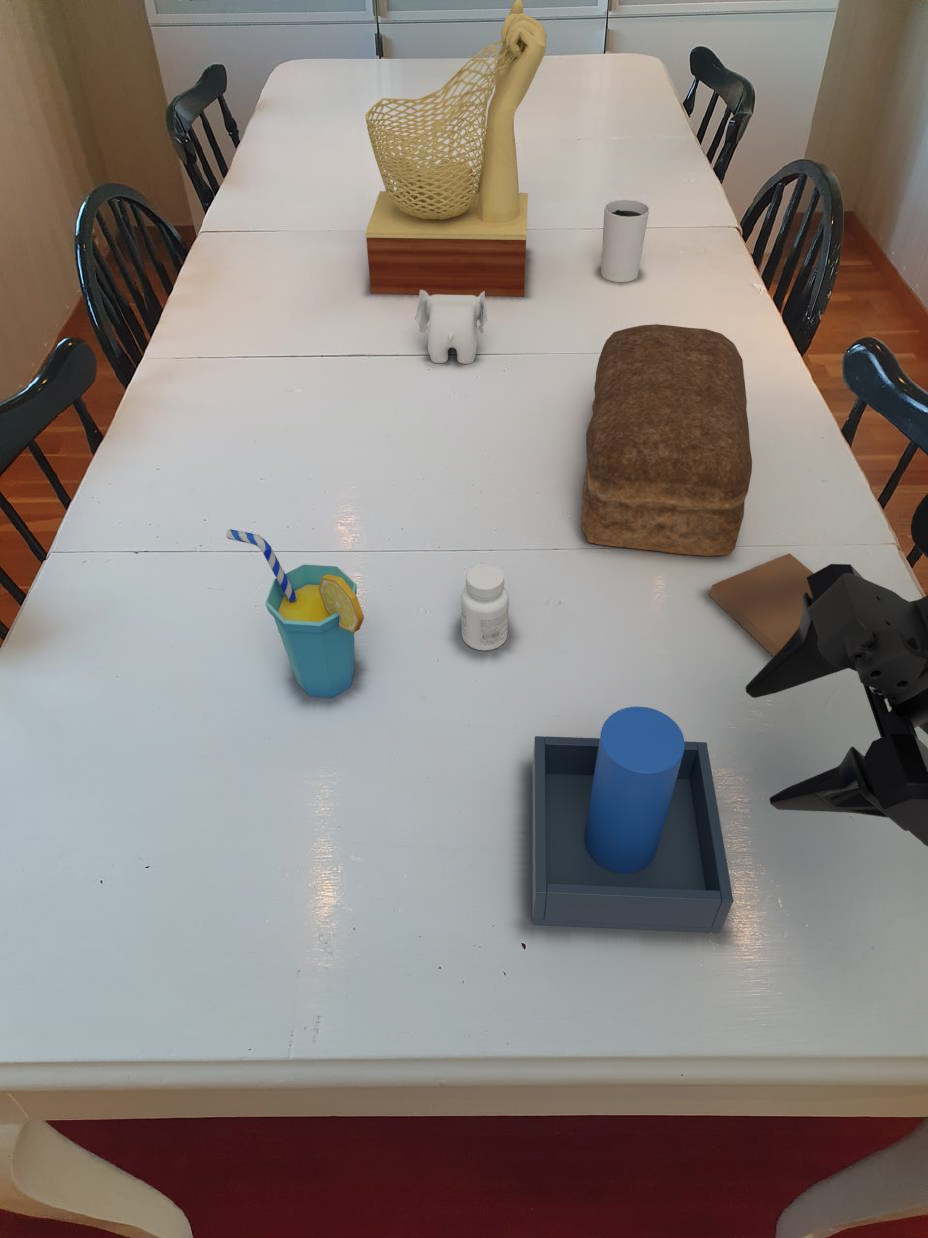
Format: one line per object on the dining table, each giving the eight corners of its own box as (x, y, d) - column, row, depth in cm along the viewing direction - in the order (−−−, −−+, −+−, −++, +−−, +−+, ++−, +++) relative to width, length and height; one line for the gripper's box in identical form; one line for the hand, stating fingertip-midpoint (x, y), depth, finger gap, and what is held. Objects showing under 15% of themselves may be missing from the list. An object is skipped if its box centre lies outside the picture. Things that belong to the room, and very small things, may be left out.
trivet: (857, 624, 87) (862, 613, 86) (777, 661, 84) (781, 650, 83) (786, 563, 94) (789, 552, 92) (709, 595, 90) (711, 584, 89)
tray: (696, 777, 75) (706, 741, 72) (720, 933, 66) (733, 901, 62) (532, 770, 76) (534, 735, 72) (532, 925, 66) (535, 893, 63)
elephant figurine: (490, 330, 129) (491, 269, 123) (486, 374, 120) (486, 310, 114) (423, 328, 129) (420, 268, 123) (415, 372, 121) (411, 309, 115)
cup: (231, 674, 84) (195, 551, 73) (281, 621, 88) (255, 498, 78) (359, 731, 79) (340, 608, 68) (404, 671, 84) (394, 548, 73)
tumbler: (671, 857, 69) (701, 755, 60) (607, 884, 67) (628, 784, 58) (632, 800, 73) (655, 695, 63) (571, 825, 71) (585, 722, 62)
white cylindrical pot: (599, 283, 139) (606, 216, 132) (596, 264, 144) (602, 199, 137) (643, 283, 139) (652, 216, 132) (638, 264, 144) (647, 199, 136)
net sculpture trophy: (536, 250, 148) (548, -7, 123) (535, 301, 135) (548, 27, 110) (384, 247, 149) (365, -7, 124) (369, 298, 136) (345, 26, 111)
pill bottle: (515, 629, 87) (518, 570, 82) (492, 658, 85) (493, 598, 79) (477, 612, 89) (477, 553, 83) (452, 640, 86) (451, 581, 81)
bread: (729, 409, 114) (751, 310, 105) (737, 569, 93) (767, 463, 84) (593, 397, 116) (603, 299, 107) (571, 552, 95) (582, 446, 86)
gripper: (882, 459, 55) (672, 586, 63) (992, 694, 42) (709, 815, 50) (965, 559, 60) (760, 664, 69) (1085, 797, 47) (815, 891, 56)
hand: (760, 745), depth 61 cm, fingers open, 9 cm apart
